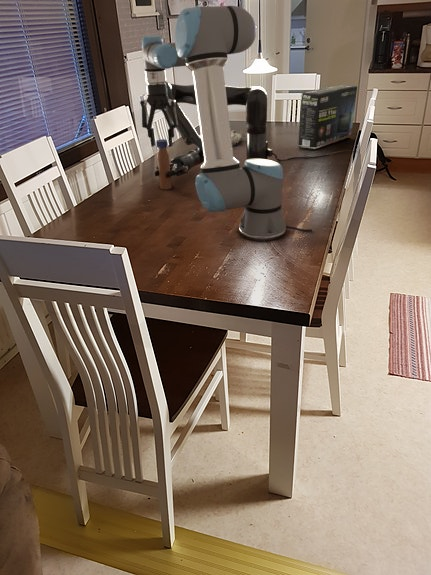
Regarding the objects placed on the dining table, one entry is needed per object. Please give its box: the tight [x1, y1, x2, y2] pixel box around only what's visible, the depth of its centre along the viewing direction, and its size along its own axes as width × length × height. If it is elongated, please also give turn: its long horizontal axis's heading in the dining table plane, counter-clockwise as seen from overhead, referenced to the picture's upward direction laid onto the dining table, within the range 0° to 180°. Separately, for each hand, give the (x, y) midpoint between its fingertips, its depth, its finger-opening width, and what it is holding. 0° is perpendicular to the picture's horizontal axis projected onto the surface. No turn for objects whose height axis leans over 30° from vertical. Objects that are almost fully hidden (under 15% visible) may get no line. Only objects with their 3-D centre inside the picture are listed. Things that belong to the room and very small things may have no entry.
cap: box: [155, 138, 168, 148], centre depth 182 cm, size 4×4×2 cm
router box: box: [297, 84, 358, 151], centre depth 238 cm, size 36×11×27 cm, turn 134°
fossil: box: [230, 128, 246, 147], centre depth 252 cm, size 18×11×15 cm
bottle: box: [156, 147, 173, 190], centre depth 187 cm, size 5×5×19 cm
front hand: (162, 145), depth 183 cm, fingers open, 7 cm apart
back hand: (161, 174), depth 186 cm, fingers closed on bottle, 4 cm apart
